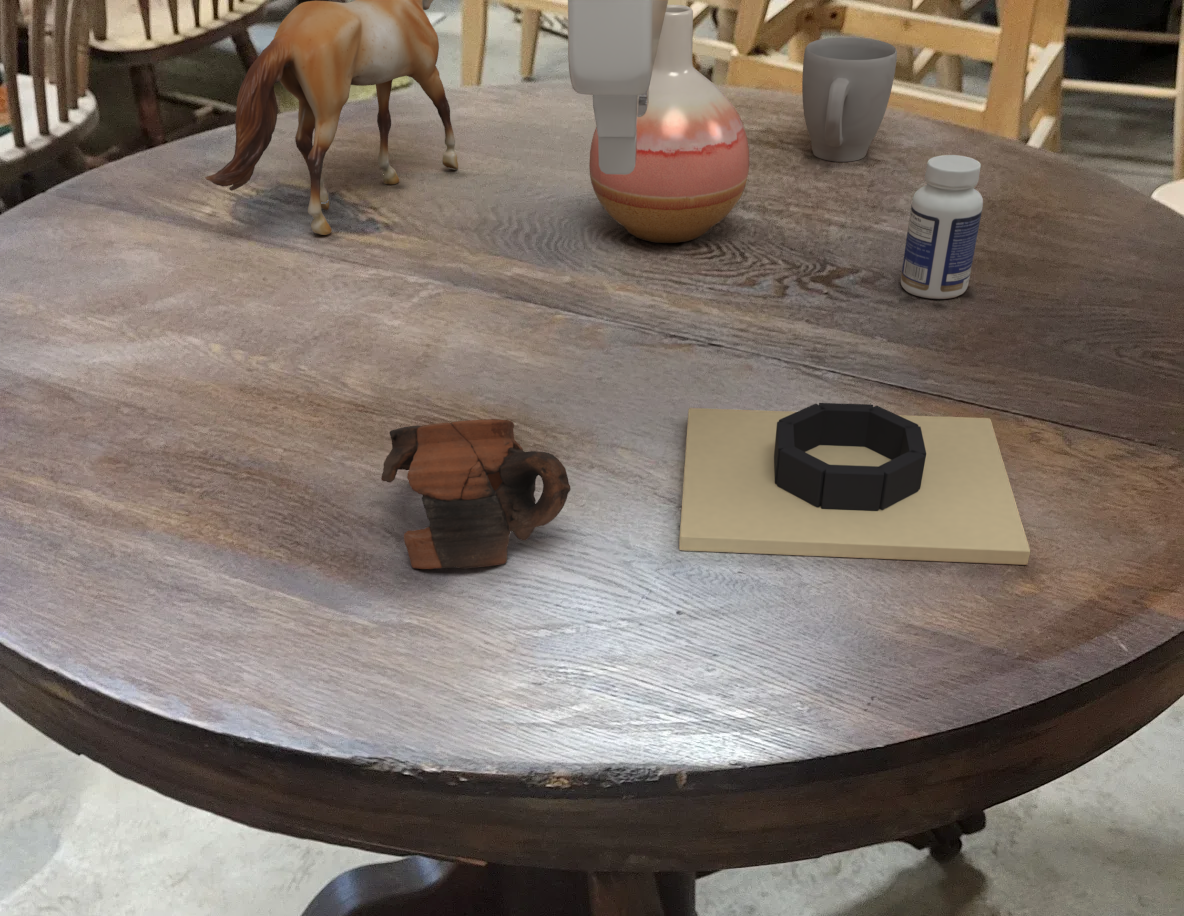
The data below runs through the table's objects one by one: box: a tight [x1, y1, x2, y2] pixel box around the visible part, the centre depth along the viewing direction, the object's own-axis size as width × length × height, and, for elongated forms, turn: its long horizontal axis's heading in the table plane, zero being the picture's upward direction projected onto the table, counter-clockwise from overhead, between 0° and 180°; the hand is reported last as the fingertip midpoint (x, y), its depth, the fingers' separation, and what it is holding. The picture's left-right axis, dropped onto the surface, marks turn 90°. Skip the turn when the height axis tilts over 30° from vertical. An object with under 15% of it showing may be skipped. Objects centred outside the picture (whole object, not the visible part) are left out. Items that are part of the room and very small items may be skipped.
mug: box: [801, 36, 898, 163], centre depth 126 cm, size 12×9×10 cm
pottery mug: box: [380, 418, 572, 570], centre depth 76 cm, size 12×10×8 cm
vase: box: [588, 4, 750, 244], centre depth 109 cm, size 14×14×18 cm
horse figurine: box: [204, 0, 459, 236], centre depth 114 cm, size 31×8×21 cm, turn 147°
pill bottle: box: [900, 154, 984, 300], centre depth 101 cm, size 5×5×10 cm
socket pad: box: [678, 402, 1031, 566], centre depth 80 cm, size 20×16×4 cm
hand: (625, 140), depth 68 cm, fingers open, 8 cm apart
